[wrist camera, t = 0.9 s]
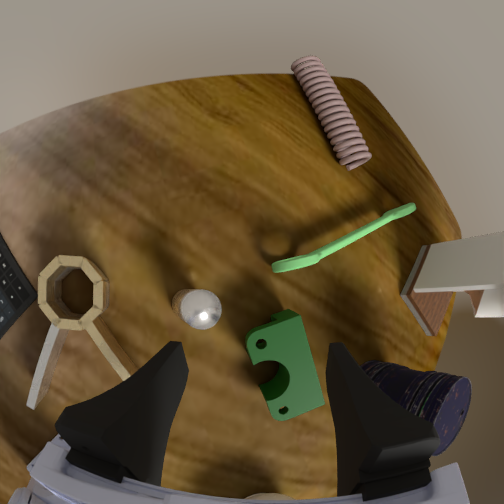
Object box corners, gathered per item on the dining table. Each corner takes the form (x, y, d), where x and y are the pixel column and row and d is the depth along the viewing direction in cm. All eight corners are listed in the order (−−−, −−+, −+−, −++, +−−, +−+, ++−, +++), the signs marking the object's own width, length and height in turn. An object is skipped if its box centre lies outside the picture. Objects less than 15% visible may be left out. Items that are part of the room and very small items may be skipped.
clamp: (239, 332, 33) (237, 318, 26) (282, 317, 34) (293, 299, 27) (271, 418, 29) (279, 431, 21) (315, 401, 30) (336, 407, 22)
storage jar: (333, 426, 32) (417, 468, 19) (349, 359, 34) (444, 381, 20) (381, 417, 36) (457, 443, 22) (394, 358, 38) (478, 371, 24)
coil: (379, 158, 35) (323, 54, 34) (361, 161, 33) (301, 50, 32) (355, 169, 39) (305, 70, 38) (336, 174, 37) (283, 68, 36)
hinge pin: (186, 325, 27) (202, 337, 21) (165, 303, 27) (174, 309, 20) (207, 304, 28) (229, 309, 22) (187, 282, 28) (202, 281, 21)
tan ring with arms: (97, 439, 22) (93, 463, 17) (0, 339, 19) (-21, 347, 15) (182, 356, 27) (191, 370, 22) (83, 248, 24) (72, 240, 19)
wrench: (392, 203, 41) (418, 195, 36) (397, 215, 41) (422, 207, 36) (261, 266, 31) (285, 261, 26) (268, 282, 31) (293, 281, 26)
